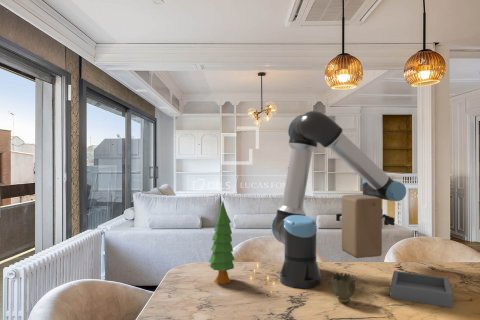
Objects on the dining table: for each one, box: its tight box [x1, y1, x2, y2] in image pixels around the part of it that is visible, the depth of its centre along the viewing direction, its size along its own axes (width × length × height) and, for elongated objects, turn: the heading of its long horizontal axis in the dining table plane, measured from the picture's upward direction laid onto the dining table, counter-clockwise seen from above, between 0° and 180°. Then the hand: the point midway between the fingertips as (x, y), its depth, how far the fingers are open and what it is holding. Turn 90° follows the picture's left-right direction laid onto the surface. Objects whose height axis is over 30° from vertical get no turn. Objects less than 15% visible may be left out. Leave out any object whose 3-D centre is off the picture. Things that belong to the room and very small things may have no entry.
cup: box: [331, 272, 357, 305], centre depth 105 cm, size 8×7×8 cm
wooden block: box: [341, 193, 383, 259], centre depth 116 cm, size 10×10×20 cm
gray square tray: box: [389, 270, 454, 309], centre depth 112 cm, size 17×17×4 cm
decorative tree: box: [208, 201, 235, 285], centre depth 125 cm, size 10×9×30 cm
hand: (360, 222), depth 117 cm, fingers closed on wooden block, 13 cm apart
